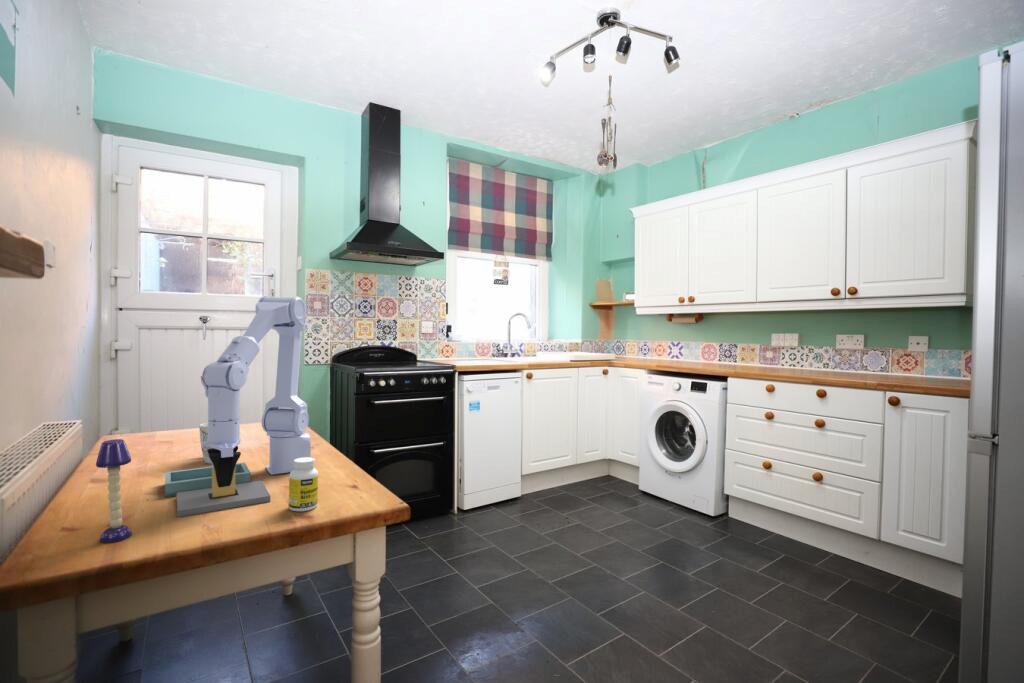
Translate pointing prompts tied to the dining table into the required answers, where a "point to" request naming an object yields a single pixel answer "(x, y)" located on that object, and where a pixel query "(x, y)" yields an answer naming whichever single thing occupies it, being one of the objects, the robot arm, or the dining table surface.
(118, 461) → the toy lamp
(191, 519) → the dining table surface
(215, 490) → the block
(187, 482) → the parts tray
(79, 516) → the dining table surface
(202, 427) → the mug
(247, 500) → the socket block
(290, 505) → the supplement bottle
